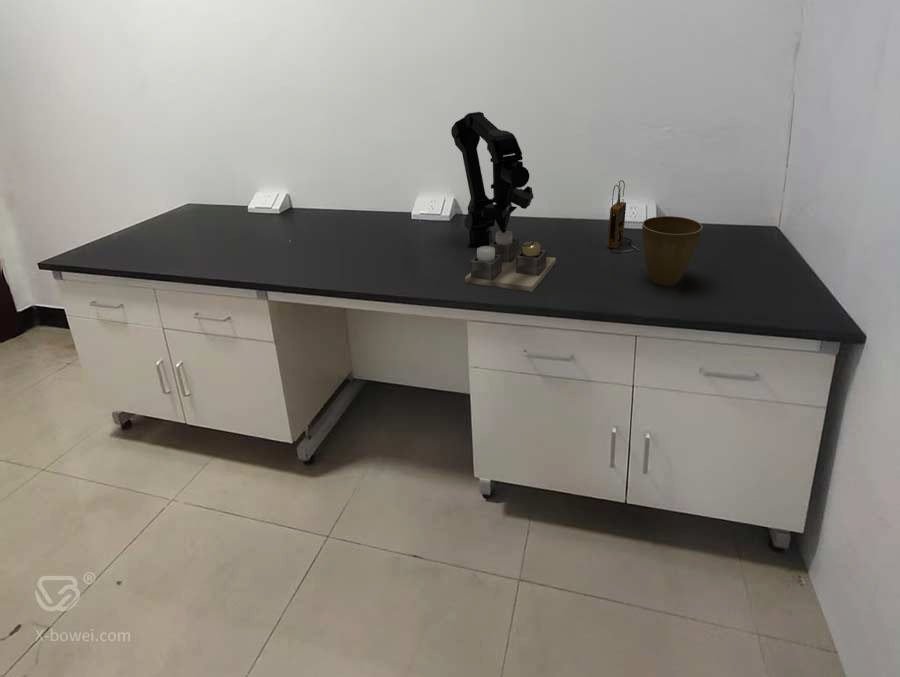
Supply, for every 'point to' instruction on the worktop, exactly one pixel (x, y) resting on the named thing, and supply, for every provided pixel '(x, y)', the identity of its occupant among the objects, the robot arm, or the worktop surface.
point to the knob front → (486, 254)
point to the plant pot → (669, 247)
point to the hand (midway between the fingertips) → (503, 232)
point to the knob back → (504, 238)
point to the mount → (510, 268)
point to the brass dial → (531, 249)
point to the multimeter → (617, 223)
